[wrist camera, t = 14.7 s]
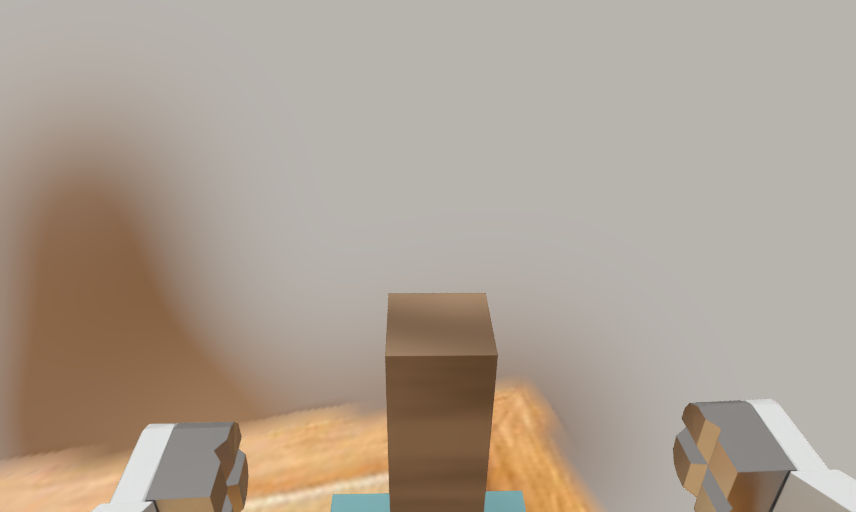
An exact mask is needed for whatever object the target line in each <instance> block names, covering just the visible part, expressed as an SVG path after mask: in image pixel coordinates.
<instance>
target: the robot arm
mask: <svg viewBox="0 0 856 512" xmlns="http://www.w3.org/2000/svg"><path fill="white" fill-rule="evenodd" d="M682 420H683V422H684V423H685V425H686V428H685V429H684V430H683V431H681V432H680V433H679V434H678V435H677V436H676V439H675V444H674V448H673V454H674V465H675V468H676V472H677V475H678V477H679V479H680V482H681V484H682V486H683V488H685V489H686V490H687V491H689V492H690V493H692V494H693V495H694V496H695V497H697V499H696V503H695V506H694V510H695V512H856V480H854V479H852V478H851V477H849V476H848V475H846V474H844V473H843V472H841V471H839V470H829V469H828V468H827V466H826V465H825V464H824V462H823V461H822V460H821V459H820V457H819V456H818V454H816V452H815V451H814V449H813V448H812V447H811V446H810V444H809V443H808V442H807V440H806V439H805V437H804V436H803V435H802V434H801V432H800V431H799V430H798V428H797V427H796V426H795V424H794V423H793V422H792V421H791V419H790V418H789V417H788V415H787V414H786V413H785V411H784V410H783V409H782V408H781V406H780V405H779V404H778V403H777V402H775V401H774V400H772V399H760V400H744V401H739V400H738V401H719V402H699V403H689V404H688V405H687V406H686V408H685V410H684V412H683V416H682ZM240 441H241V433H240V429H239V425H238V423H235V422H212V423H178V424H149V425H148V426H147V427H146V428H145V429H144V430H143V431H142V433H141V435H140V438H139V440H138V442H137V444H136V446H135V448H134V451H133V453H132V455H131V457H130V459H129V462H128V464H127V466H126V468H125V470H124V473H123V475H122V477H121V479H120V481H119V484H118V486H117V488H116V490H115V492H114V494H113V497H112V499H111V501H110V503H105V504H100V505H98V506H97V507H96V508H95V509H94V510H92V511H91V512H241V511H242V510H243V509H244V505H245V500H246V496H247V487H248V464H247V459H246V454H244V453H243V452H242V451H241V450H239V445H240Z"/></svg>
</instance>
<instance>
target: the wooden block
mask: <svg viewBox="0 0 856 512" xmlns="http://www.w3.org/2000/svg"><path fill="white" fill-rule="evenodd" d="M497 357H498V354H497V349H496V344H495V339H494V333H493V328H492V324H491V318H490V313H489V308H488V303H487V298H486V293H402V294H401V293H399V294H398V293H389V297H388V316H387V334H386V352H385V363H386V397H387V431H388V464H389V498H390V512H484V505H485V493H486V482H487V471H488V460H489V448H490V437H491V426H492V414H493V403H494V392H495V380H496V369H497Z"/></svg>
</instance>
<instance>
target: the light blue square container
mask: <svg viewBox="0 0 856 512" xmlns="http://www.w3.org/2000/svg"><path fill="white" fill-rule="evenodd" d="M331 512H390V498H389V493H385V494H334V495H333V496H332V504H331ZM484 512H526V509H525V504H524V499H523V494H522V491H487V492H486V493H485V505H484Z"/></svg>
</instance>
